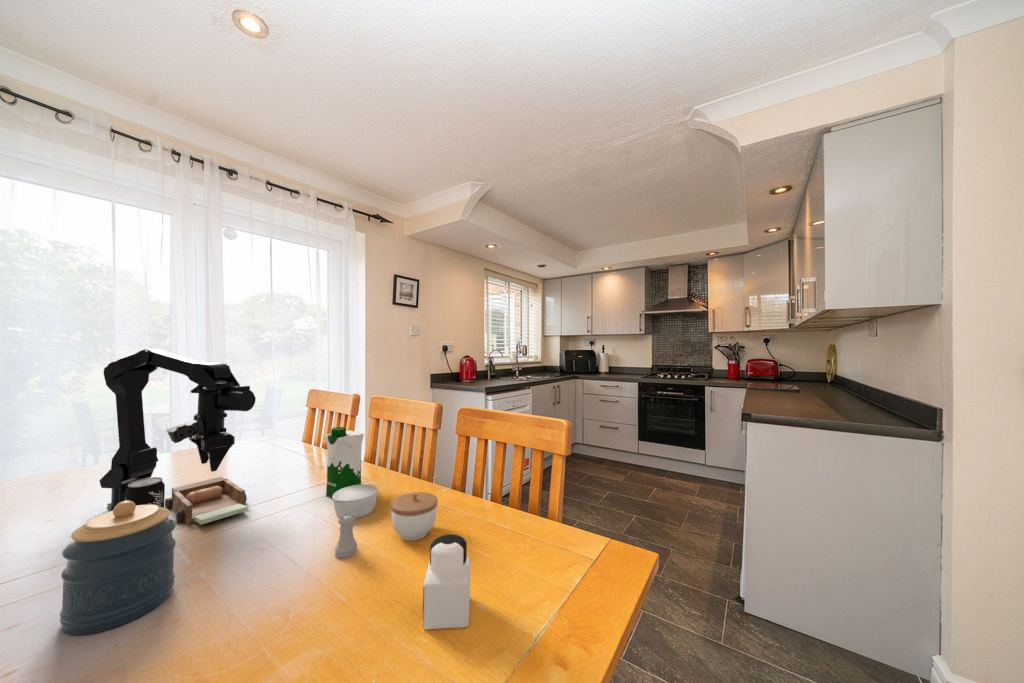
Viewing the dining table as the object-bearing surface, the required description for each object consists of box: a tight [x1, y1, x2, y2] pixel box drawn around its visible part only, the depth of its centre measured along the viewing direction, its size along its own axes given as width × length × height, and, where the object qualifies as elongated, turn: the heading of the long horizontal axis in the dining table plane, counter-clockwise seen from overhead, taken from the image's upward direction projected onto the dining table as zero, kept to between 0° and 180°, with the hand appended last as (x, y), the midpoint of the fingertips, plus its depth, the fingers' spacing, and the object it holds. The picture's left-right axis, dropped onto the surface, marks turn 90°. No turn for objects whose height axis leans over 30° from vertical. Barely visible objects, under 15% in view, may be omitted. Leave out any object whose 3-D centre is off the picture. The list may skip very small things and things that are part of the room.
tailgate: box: [194, 503, 249, 526], centre depth 91 cm, size 1×9×6 cm
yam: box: [186, 486, 223, 504], centre depth 99 cm, size 3×8×3 cm, turn 144°
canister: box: [59, 501, 177, 636], centre depth 60 cm, size 13×13×18 cm
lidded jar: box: [390, 491, 438, 541], centre depth 85 cm, size 11×11×9 cm
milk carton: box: [325, 426, 365, 498], centre depth 107 cm, size 9×9×20 cm
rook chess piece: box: [334, 513, 358, 560], centre depth 76 cm, size 4×4×8 cm
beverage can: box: [125, 476, 166, 508], centre depth 84 cm, size 7×7×12 cm
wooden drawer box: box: [164, 476, 248, 525], centre depth 98 cm, size 18×14×4 cm
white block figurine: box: [422, 533, 471, 631], centre depth 60 cm, size 7×7×12 cm
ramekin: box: [331, 483, 379, 519], centre depth 96 cm, size 11×11×5 cm
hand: (208, 467), depth 97 cm, fingers open, 9 cm apart
